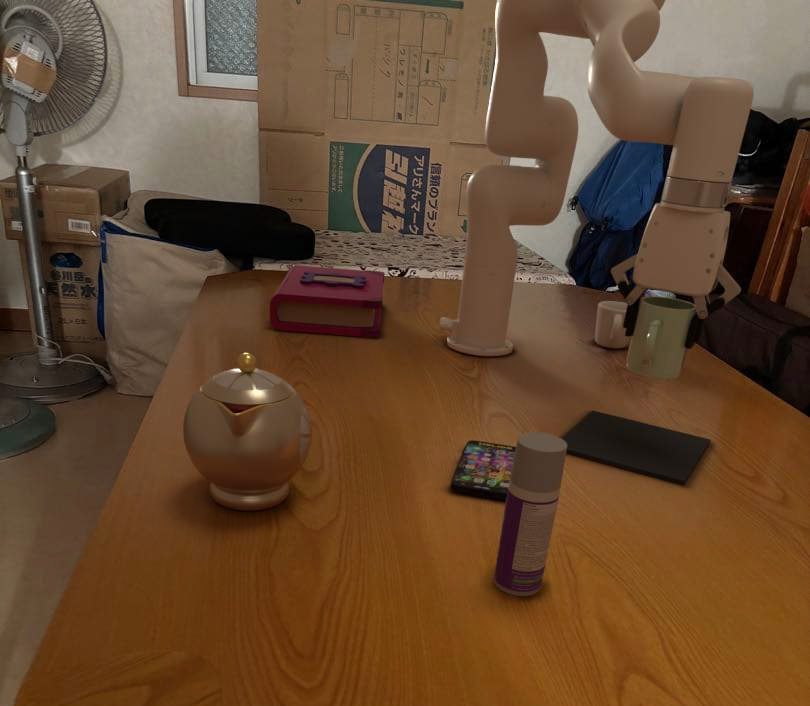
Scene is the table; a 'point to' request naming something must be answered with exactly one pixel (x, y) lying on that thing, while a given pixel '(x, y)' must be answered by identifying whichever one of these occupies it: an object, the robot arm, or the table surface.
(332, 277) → the book
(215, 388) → the teapot
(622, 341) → the cup
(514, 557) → the container
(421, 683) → the table surface
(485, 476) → the smartphone
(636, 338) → the mug
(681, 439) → the mat
